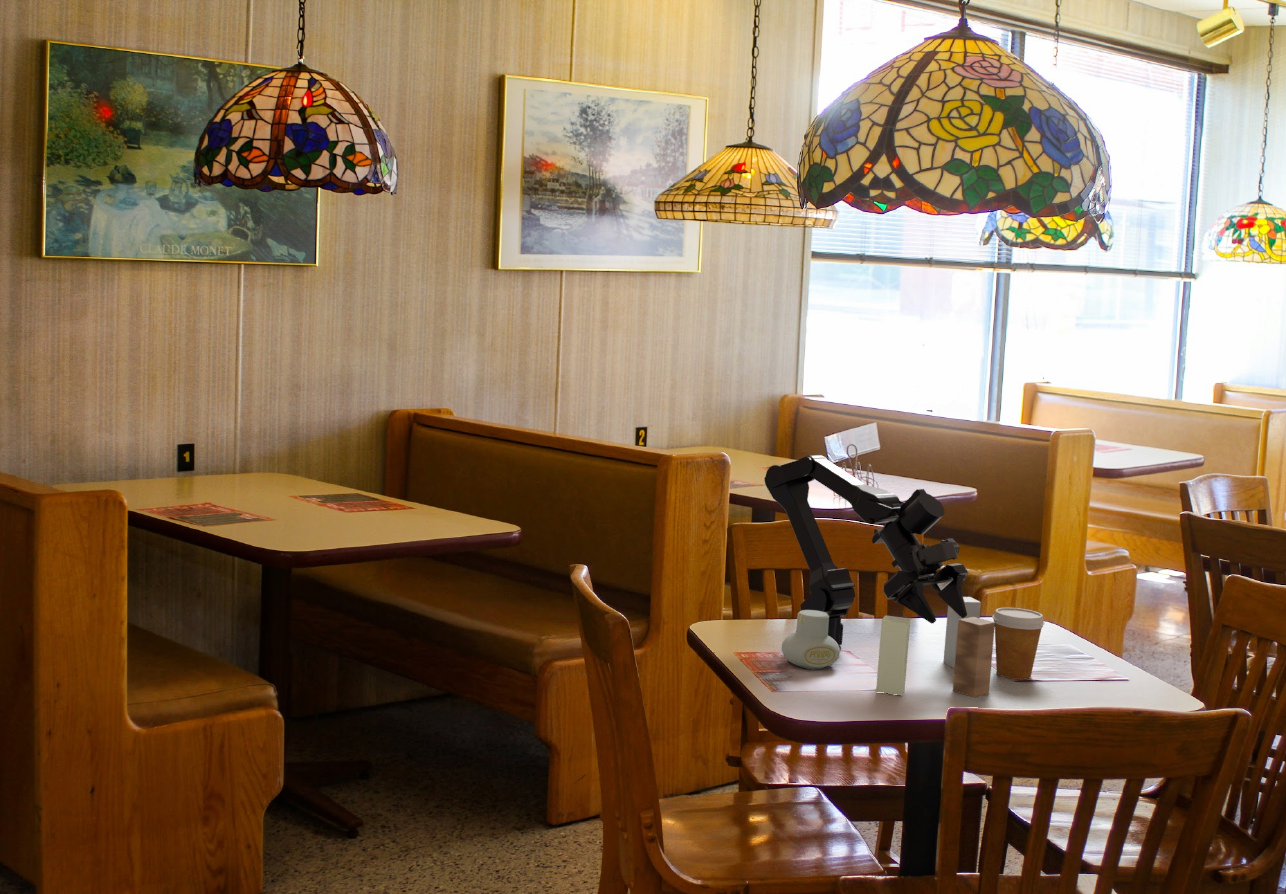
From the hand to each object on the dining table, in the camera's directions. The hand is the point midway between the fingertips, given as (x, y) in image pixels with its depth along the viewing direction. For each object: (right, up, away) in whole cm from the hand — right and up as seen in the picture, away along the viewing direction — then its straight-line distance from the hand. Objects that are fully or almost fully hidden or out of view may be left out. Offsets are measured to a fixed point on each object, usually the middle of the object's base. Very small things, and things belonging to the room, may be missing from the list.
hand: (949, 619), depth 230 cm
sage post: (-12, -12, -6) cm, 18 cm away
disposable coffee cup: (+15, -12, +10) cm, 22 cm away
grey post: (+5, -11, +15) cm, 19 cm away
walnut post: (+3, -13, -3) cm, 13 cm away
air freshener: (-24, -10, +9) cm, 28 cm away
